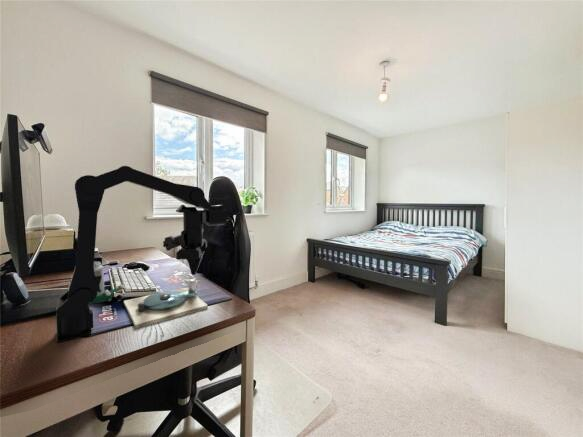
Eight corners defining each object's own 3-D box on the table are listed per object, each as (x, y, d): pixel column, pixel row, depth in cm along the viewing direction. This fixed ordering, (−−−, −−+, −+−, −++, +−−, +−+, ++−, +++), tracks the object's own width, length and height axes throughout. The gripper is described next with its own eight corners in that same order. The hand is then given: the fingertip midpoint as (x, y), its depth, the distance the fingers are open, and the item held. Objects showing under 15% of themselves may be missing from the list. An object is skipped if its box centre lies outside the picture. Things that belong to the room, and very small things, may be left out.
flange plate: (142, 315, 71) (142, 297, 70) (134, 301, 79) (133, 285, 79) (202, 299, 82) (202, 284, 82) (189, 289, 91) (189, 275, 90)
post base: (135, 328, 66) (135, 316, 66) (123, 303, 81) (123, 294, 81) (207, 308, 79) (207, 298, 79) (186, 290, 94) (186, 281, 94)
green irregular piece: (95, 310, 80) (106, 298, 79) (88, 301, 81) (99, 289, 79) (120, 298, 89) (130, 288, 88) (113, 290, 90) (123, 280, 89)
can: (99, 301, 83) (98, 265, 82) (71, 303, 80) (69, 267, 79) (107, 292, 90) (106, 259, 89) (82, 295, 87) (80, 261, 86)
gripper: (173, 223, 87) (174, 267, 89) (156, 230, 69) (157, 285, 70) (207, 223, 89) (207, 266, 91) (198, 230, 71) (199, 283, 73)
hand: (193, 274), depth 81 cm, fingers closed
